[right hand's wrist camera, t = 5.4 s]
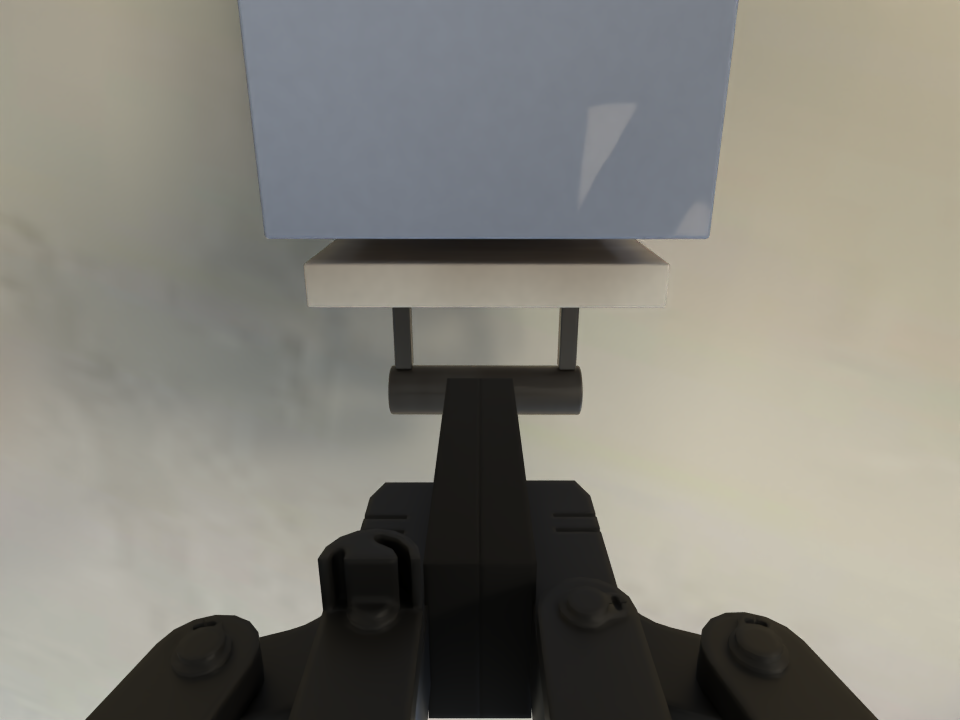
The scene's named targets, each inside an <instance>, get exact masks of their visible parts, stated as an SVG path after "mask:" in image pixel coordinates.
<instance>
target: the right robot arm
mask: <svg viewBox="0 0 960 720" xmlns="http://www.w3.org/2000/svg"><path fill="white" fill-rule="evenodd" d="M318 566H319V575H320V585H321V594H322V604H323V613H322V616H320V617H319V618H317V619H315V620H313V621H312V622H310V623H308V624H306V625H303V626H300V627H297V628H294V629H291V630H288V631H284V632H280V633H276V634H271V635H267V636H263V637H259V634H258V631H257V630H256V629H255V628H254V626H253V625H252V624H251V623H250V621H247V620H245V619H242V618H240V617H237V616H235V615H213V616H209V617H205V618H200V619H196V620H193V621H191V622H189V623H187V624H185V625H183V626H181V627H179V628H177V629H174V630H173V631H172V632H171V633H169V634H168V635H167V636H166V637H164V638H163V639H162V640H161V641H160V642H158V643H157V644H156V645H155V646H154V647H153V648H152V649H151V650H150V652H149V653H148V654H147V655H146V656H145V657H144V658H143V659H142V660H141V661H140V662H139V663H138V664H137V665H136V666H135V667H134V669H133V670H132V671H131V672H130V673H129V674H128V675H127V676H126V677H125V678H124V679H123V680H122V681H121V682H120V683H119V684H118V686H117V687H116V688H115V689H114V690H113V691H112V692H111V693H110V694H109V695H108V696H107V697H106V698H105V699H104V700H103V701H102V703H101V704H100V705H99V706H98V707H97V708H96V709H95V710H94V711H93V712H92V713H91V714H90V715H89V716H88V717H87V718H86V720H428V710H429V718H531V710H532V717H533V720H878V719H877V718H876V717H875V716H874V715H873V714H872V712H871V711H870V710H869V709H868V708H867V707H866V706H865V705H864V704H863V703H862V702H861V701H860V700H859V699H858V698H857V697H856V696H855V695H854V693H853V692H852V691H851V690H850V689H849V688H848V687H847V686H846V685H845V684H844V683H843V682H842V681H841V680H840V679H839V678H838V677H837V676H836V674H835V673H834V672H833V671H832V670H831V669H830V668H829V667H828V666H827V665H826V664H825V663H824V662H823V661H822V660H821V659H820V658H819V657H818V655H817V654H816V653H815V652H814V651H813V650H812V649H811V648H810V647H809V646H808V645H807V644H806V643H805V642H804V641H803V640H802V639H801V638H800V637H798V636H797V635H796V634H795V633H793V632H792V631H791V630H790V629H788V628H787V627H785V626H783V625H781V624H779V623H777V622H775V621H773V620H771V619H769V618H767V617H763V616H759V615H755V614H750V613H746V612H737V613H724V614H722V615H719V616H717V617H714V618H712V619H710V620H709V622H708V623H707V624H706V625H705V627H704V628H703V629H702V634H701V635H699V634H695V633H691V632H687V631H683V630H679V629H675V628H671V627H668V626H665V625H661V624H658V623H655V622H653V621H652V620H650V619H648V618H646V617H644V616H642V615H640V614H639V613H638V612H637V609H636V608H635V606H634V604H633V603H632V601H631V599H630V598H629V596H627V595H626V594H625V593H624V592H622V591H621V590H620V589H619V588H617V584H616V581H615V578H614V574H613V571H612V567H611V564H610V561H609V557H608V554H607V551H606V547H605V544H604V541H603V537H602V534H601V532H600V527H599V524H598V521H597V517H595V510H594V507H593V504H592V500H591V497H590V495H589V494H588V493H587V492H586V491H585V490H584V489H583V488H582V487H581V486H580V485H579V484H577V483H576V482H575V481H526V476H525V468H524V461H523V453H522V445H521V438H520V430H519V422H518V414H517V407H516V399H515V391H514V384H513V378H447V384H446V391H445V399H444V407H443V414H442V422H441V430H440V437H439V445H438V453H437V461H436V468H435V476H434V483H385V484H384V485H383V486H382V487H381V488H379V489H378V490H377V491H376V492H375V493H374V494H373V495H372V496H371V497H370V499H369V503H368V506H367V510H366V513H365V519H364V520H363V523H362V527H361V530H360V531H356V532H353V533H350V534H347V535H345V536H342V537H340V538H338V539H337V540H335V541H334V542H332V543H331V544H330V545H328V546H327V547H326V548H325V549H324V551H323V552H322V554H321V555H320V557H319V558H318Z"/></svg>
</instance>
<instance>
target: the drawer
mask: <svg viewBox="0 0 960 720" xmlns="http://www.w3.org/2000/svg"><path fill="white" fill-rule="evenodd" d="M669 270H670V265H669V264H668V263H667V262H666V261H664V260H663V259H661V258H660V257H659V256H657V255H656V254H655V253H653V252H652V251H651V250H649V249H648V248H647V247H645V246H644V245H643V244H641V243H640V242H638V241H637V240H636V239H336V240H335V241H333V242H332V243H331V244H330V245H328V246H327V247H326V248H324V249H323V250H322V251H320V252H319V253H318V254H316V255H315V256H314V257H313V258H311V259H310V260H309V261H307V262H306V263H305V264H304V276H305V287H306V297H307V305H308V307H392V311H393V331H394V352H395V365H393V366H392V367H391V369H390V374H389V387H388V395H389V407H390V411H391V414H443V407H444V399H445V391H446V384H447V378H513V384H514V391H515V399H516V407H517V414H518V415H578V414H580V411H581V407H582V394H583V387H582V374H581V370H580V367H579V366H576V355H577V337H578V319H579V308H663V307H665V306H666V299H667V289H668V280H669ZM411 307H538V308H560V314H559V336H558V359H557V364H558V366H491V365H413V337H412V311H411Z"/></svg>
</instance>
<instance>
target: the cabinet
mask: <svg viewBox="0 0 960 720" xmlns="http://www.w3.org/2000/svg"><path fill="white" fill-rule="evenodd" d="M238 8H239V17H240V26H241V34H242V43H243V51H244V60H245V69H246V77H247V86H248V95H249V103H250V112H251V120H252V129H253V138H254V146H255V155H256V164H257V172H258V181H259V190H260V198H261V207H262V215H263V224H264V233H265V236H266V238H269V239H706V238H708V237H709V235H710V227H711V219H712V211H713V203H714V195H715V186H716V178H717V170H718V162H719V154H720V146H721V138H722V130H723V122H724V113H725V105H726V97H727V89H728V81H729V73H730V65H731V57H732V49H733V40H734V32H735V24H736V16H737V8H738V0H238Z"/></svg>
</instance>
